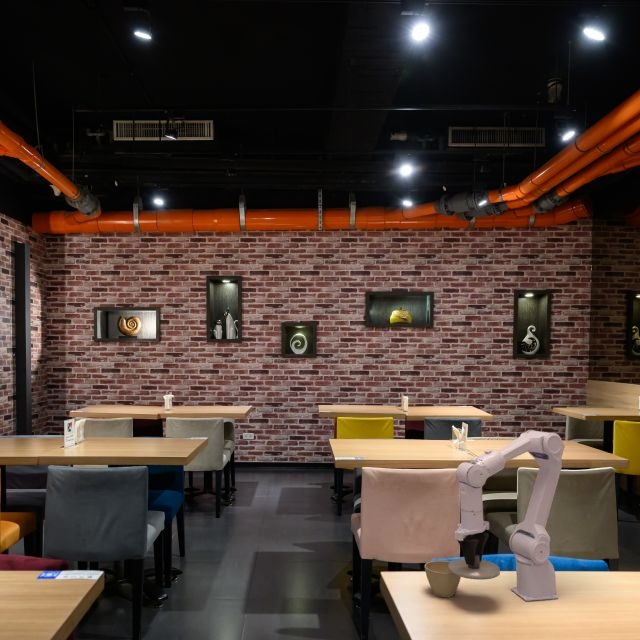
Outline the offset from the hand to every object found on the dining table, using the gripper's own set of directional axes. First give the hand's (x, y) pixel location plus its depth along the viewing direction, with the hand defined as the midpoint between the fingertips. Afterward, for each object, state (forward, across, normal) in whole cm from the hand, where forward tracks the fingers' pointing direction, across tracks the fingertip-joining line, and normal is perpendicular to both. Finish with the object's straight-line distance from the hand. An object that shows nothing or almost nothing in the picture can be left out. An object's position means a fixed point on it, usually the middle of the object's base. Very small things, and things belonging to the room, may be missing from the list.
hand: (473, 562), depth 139 cm
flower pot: (+11, 0, -10) cm, 14 cm away
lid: (+2, 0, 0) cm, 2 cm away
